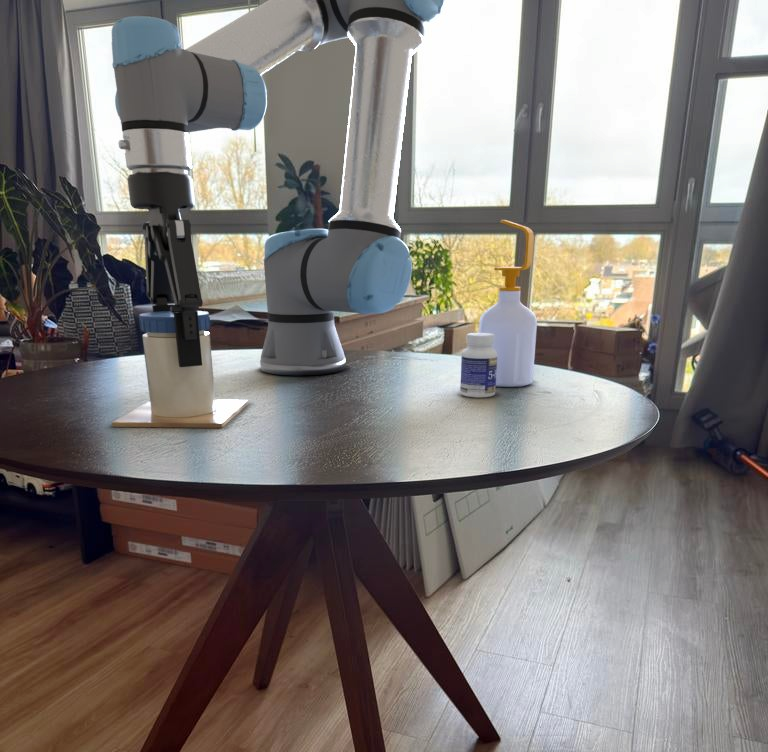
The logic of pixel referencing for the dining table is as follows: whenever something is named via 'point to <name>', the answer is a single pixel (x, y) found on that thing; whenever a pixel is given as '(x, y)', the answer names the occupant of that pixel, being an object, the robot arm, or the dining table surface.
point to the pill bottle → (478, 366)
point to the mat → (211, 420)
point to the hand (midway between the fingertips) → (179, 360)
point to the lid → (168, 322)
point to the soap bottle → (512, 325)
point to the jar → (178, 378)
